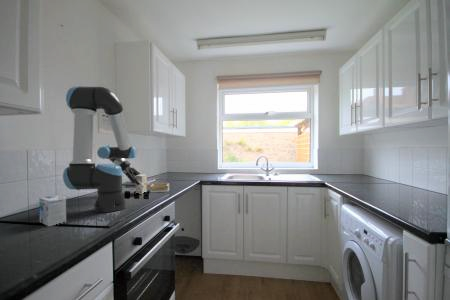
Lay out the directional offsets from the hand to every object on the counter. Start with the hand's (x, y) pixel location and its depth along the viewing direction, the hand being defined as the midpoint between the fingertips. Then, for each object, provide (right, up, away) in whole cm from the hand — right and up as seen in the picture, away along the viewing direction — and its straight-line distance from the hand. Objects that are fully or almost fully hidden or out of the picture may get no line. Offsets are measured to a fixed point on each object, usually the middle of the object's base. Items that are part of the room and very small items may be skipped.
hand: (145, 186), depth 160 cm
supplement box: (-3, -5, 0) cm, 6 cm away
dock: (+7, -5, +11) cm, 14 cm away
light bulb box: (-20, -6, -59) cm, 62 cm away
